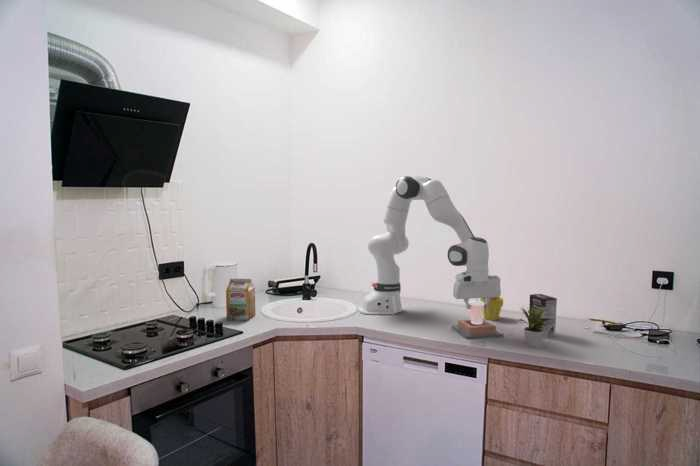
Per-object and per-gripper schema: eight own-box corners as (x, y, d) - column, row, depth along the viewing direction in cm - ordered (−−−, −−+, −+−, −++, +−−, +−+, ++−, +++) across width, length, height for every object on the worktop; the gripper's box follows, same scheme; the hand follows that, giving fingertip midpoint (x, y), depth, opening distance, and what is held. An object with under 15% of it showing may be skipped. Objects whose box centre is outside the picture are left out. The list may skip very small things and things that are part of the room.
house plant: (515, 350, 172) (516, 307, 170) (507, 339, 185) (508, 299, 184) (555, 352, 170) (556, 308, 168) (544, 340, 183) (546, 300, 182)
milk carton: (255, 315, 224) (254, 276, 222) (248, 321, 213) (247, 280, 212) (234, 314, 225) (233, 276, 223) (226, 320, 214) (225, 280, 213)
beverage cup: (473, 320, 199) (473, 288, 198) (486, 322, 195) (487, 290, 194) (466, 323, 194) (467, 290, 193) (480, 325, 190) (480, 292, 189)
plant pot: (498, 322, 210) (498, 301, 210) (476, 318, 217) (476, 298, 216) (505, 317, 218) (506, 297, 218) (484, 314, 225) (485, 294, 224)
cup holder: (466, 338, 186) (466, 329, 185) (451, 327, 201) (451, 318, 201) (503, 336, 188) (503, 327, 188) (485, 326, 204) (485, 317, 204)
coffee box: (527, 331, 196) (528, 294, 194) (539, 330, 198) (540, 293, 197) (543, 337, 187) (545, 298, 186) (556, 336, 189) (557, 297, 188)
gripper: (496, 274, 198) (495, 305, 199) (451, 275, 194) (451, 307, 196) (504, 276, 192) (503, 309, 193) (457, 278, 188) (457, 311, 189)
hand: (476, 308), depth 194 cm, fingers closed on beverage cup, 6 cm apart
